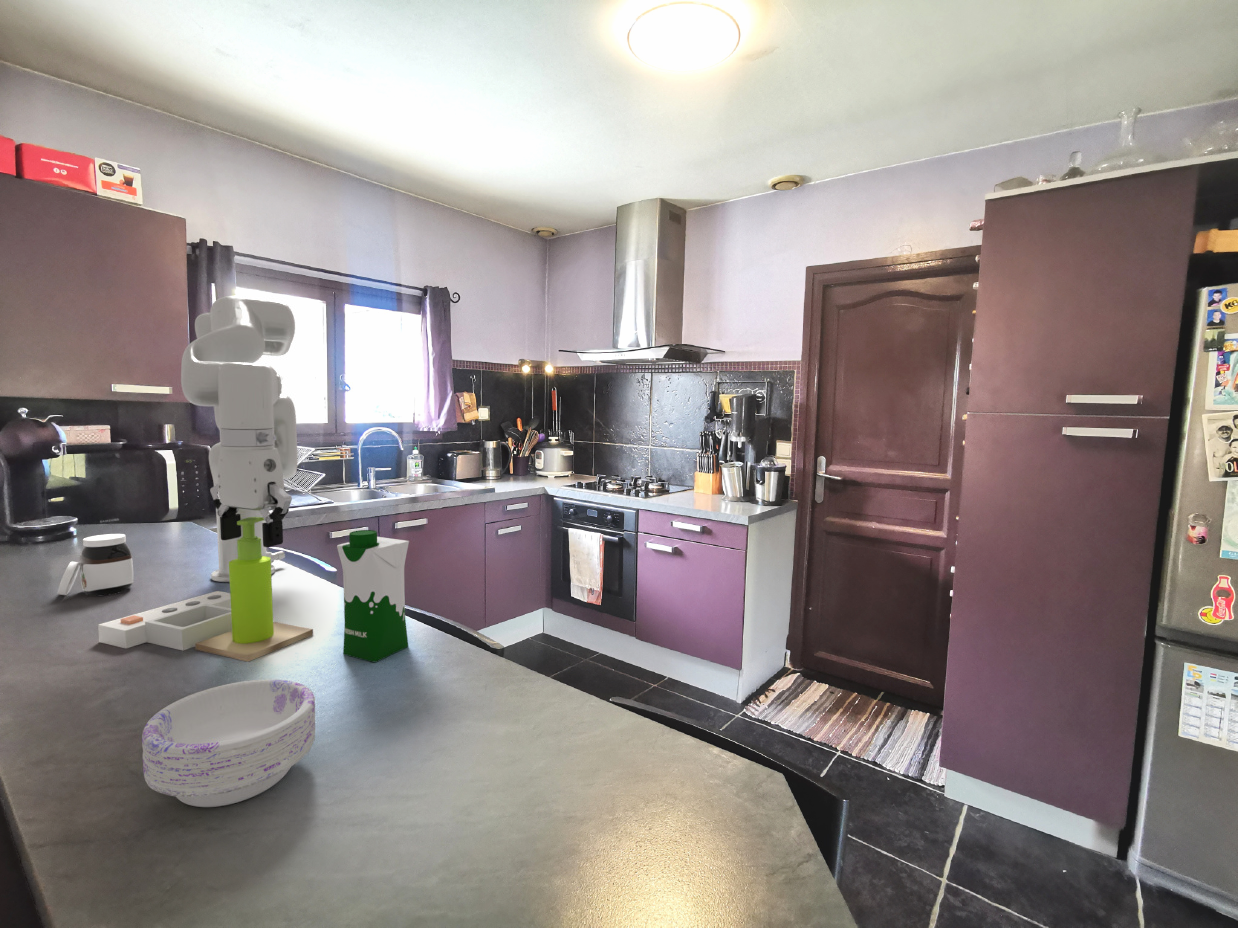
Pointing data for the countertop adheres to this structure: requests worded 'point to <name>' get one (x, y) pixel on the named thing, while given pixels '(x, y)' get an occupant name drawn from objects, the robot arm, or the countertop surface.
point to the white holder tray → (172, 623)
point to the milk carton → (373, 595)
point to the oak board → (251, 651)
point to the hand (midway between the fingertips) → (251, 541)
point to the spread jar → (101, 566)
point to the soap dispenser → (251, 588)
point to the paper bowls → (228, 741)
